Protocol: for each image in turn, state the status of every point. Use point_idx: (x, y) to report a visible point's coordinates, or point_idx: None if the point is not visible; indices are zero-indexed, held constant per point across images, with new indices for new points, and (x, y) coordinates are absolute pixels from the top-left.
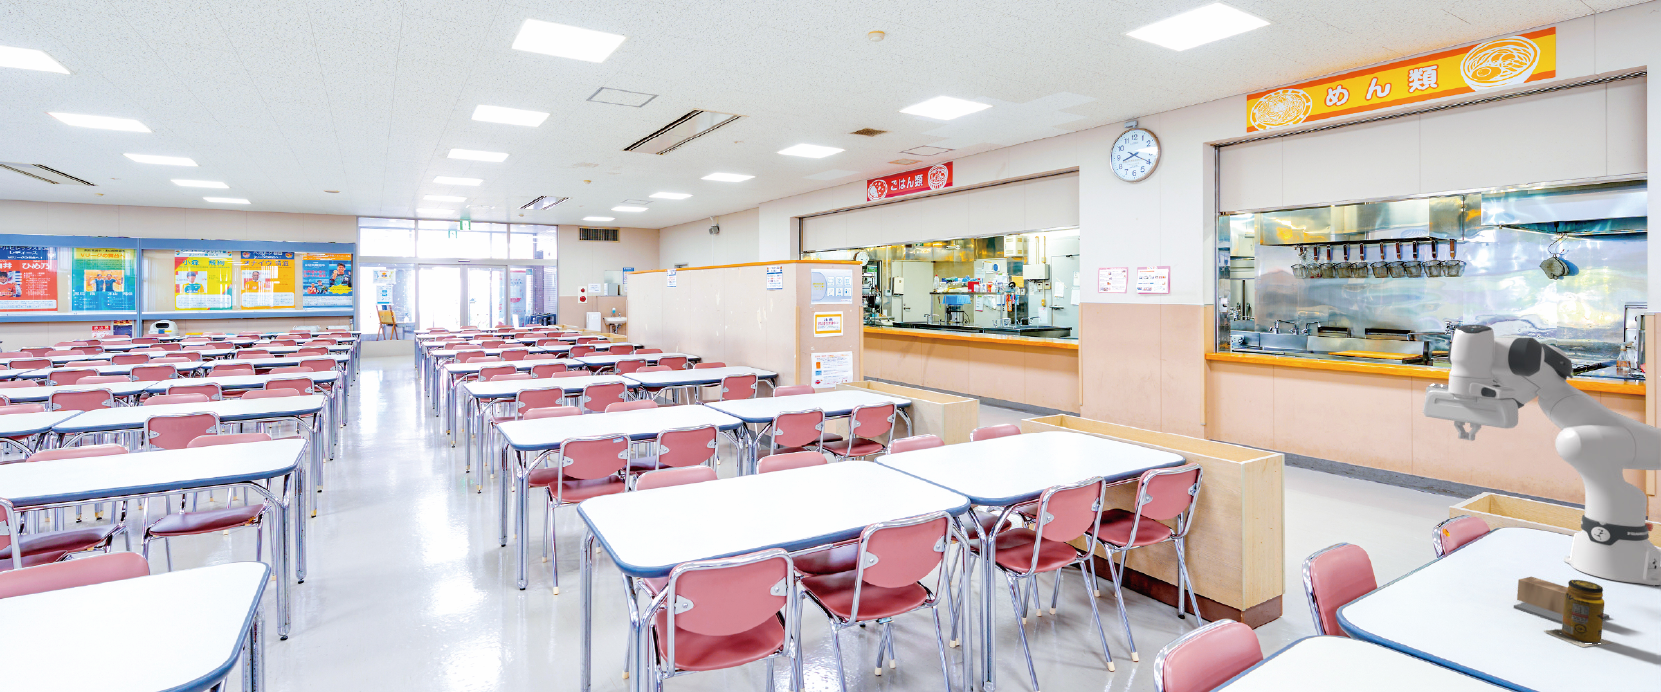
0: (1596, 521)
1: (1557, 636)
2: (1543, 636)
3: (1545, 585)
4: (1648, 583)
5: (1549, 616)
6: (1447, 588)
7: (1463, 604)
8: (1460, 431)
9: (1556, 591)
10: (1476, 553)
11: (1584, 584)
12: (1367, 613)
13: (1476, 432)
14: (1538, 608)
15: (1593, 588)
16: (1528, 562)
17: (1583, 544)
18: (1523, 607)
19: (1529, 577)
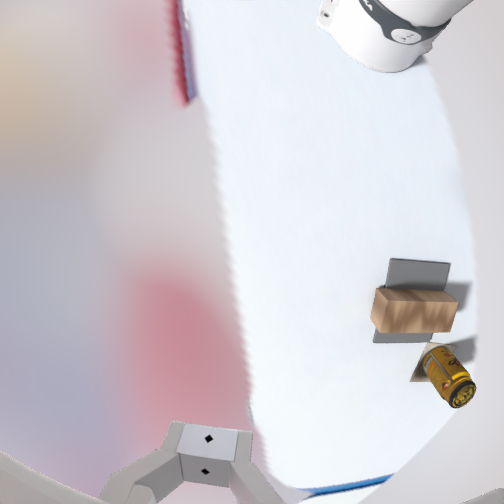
0: (407, 22)
1: (420, 380)
2: (410, 390)
3: (409, 323)
4: (424, 53)
5: (408, 340)
6: (294, 348)
7: (331, 383)
8: (176, 484)
9: (421, 332)
10: (225, 110)
11: (462, 396)
12: (284, 468)
13: (260, 476)
14: None
15: (468, 401)
16: (295, 80)
17: (366, 32)
18: (382, 338)
19: (387, 307)
